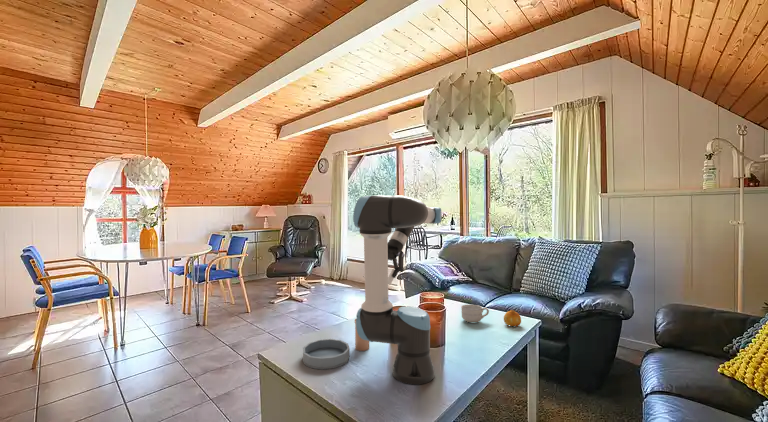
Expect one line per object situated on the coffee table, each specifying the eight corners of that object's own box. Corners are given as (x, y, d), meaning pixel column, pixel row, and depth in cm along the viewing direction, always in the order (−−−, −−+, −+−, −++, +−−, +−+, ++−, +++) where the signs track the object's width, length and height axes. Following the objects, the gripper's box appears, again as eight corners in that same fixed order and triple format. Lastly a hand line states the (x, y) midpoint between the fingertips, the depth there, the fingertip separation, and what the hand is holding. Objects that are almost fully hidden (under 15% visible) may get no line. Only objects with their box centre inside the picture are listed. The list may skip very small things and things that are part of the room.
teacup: (460, 323, 178) (460, 308, 178) (462, 317, 188) (462, 302, 188) (488, 326, 174) (488, 311, 174) (488, 319, 184) (489, 305, 184)
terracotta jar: (373, 348, 148) (373, 320, 147) (361, 352, 143) (361, 323, 143) (363, 343, 153) (363, 316, 152) (351, 347, 148) (351, 319, 148)
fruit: (515, 325, 169) (518, 309, 172) (499, 323, 174) (502, 307, 178) (522, 330, 174) (524, 315, 177) (506, 328, 179) (508, 312, 183)
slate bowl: (358, 359, 137) (358, 348, 137) (319, 374, 125) (319, 362, 125) (331, 345, 150) (331, 335, 150) (294, 358, 138) (294, 347, 138)
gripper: (421, 250, 159) (402, 290, 149) (380, 245, 175) (360, 280, 165) (415, 240, 155) (394, 280, 144) (373, 236, 171) (352, 271, 160)
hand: (376, 280), depth 154 cm, fingers open, 13 cm apart
